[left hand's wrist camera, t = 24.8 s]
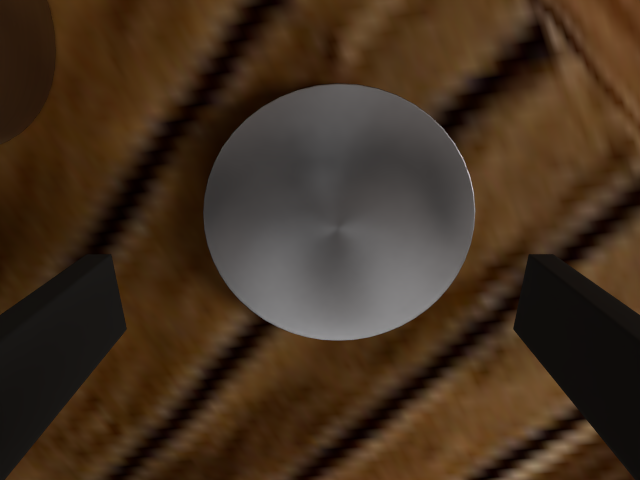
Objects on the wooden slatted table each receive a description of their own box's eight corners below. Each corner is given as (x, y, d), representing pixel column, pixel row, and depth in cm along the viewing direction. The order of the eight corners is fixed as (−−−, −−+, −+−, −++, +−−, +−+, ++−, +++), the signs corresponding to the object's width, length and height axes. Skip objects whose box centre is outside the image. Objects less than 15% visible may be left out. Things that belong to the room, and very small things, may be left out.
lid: (298, 355, 21) (295, 375, 19) (162, 173, 17) (146, 182, 16) (501, 257, 18) (516, 272, 17) (391, 23, 15) (398, 17, 14)
